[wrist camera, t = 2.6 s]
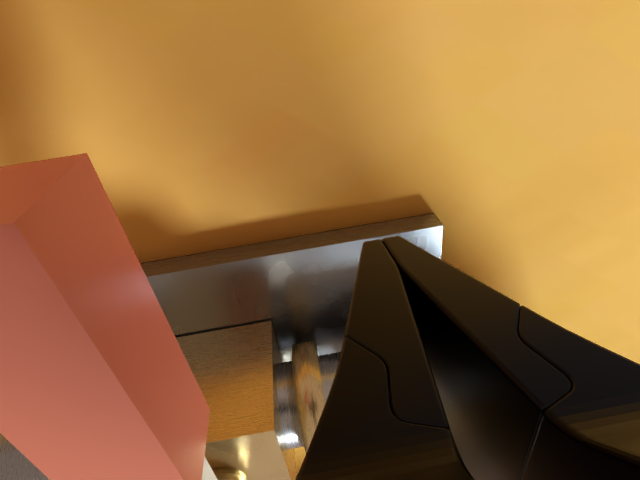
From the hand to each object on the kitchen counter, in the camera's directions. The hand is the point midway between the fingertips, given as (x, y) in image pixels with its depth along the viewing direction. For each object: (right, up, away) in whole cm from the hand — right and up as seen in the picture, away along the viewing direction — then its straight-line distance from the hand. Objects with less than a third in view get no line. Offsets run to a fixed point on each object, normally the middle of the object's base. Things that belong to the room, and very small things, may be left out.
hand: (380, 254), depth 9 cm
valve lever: (-7, -5, +3) cm, 9 cm away
